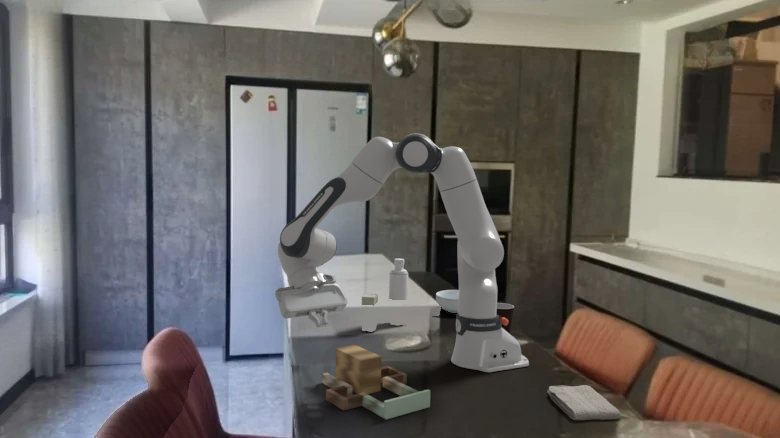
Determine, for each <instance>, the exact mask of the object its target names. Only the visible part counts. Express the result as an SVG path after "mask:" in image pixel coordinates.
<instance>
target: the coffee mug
mask: <svg viewBox="0 0 780 438" xmlns="http://www.w3.org/2000/svg"><path fill="white" fill-rule="evenodd" d="M514 310H515V306H514V305H513V304H510V303H503V302H497V313H496V314H497V315H498V316H500V317H504V318H506V319H508V320H509V322H508V325H503V324H501V326H502V328H503V329H504V330H506V331H507V332H508V333H509V334H510V335H511V329H512V323H513V317H514V312H515V311H514Z"/></svg>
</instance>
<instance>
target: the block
mask: <svg viewBox="0 0 780 438" xmlns="http://www.w3.org/2000/svg"><path fill="white" fill-rule="evenodd" d="M381 367H382V355H379V354H377V353H374V352H373V351H370V350H368V349H366V348H364V347H362V346H359V345H356V344H352V345H346V346H342V347H341V346H340V347H336V348H335V377H336V378H338V379H340V380H342V381H344V382H346V383H348V384H349V385H351V386H352V393H355V394H359V393H366V394H368V395H370V394H374V393H378V392H381V391H382V383H381Z"/></svg>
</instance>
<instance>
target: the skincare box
mask: <svg viewBox="0 0 780 438" xmlns="http://www.w3.org/2000/svg"><path fill="white" fill-rule="evenodd" d="M378 297H379V296H378V293H365V294H363V295H362V296H361V306H362V305H373V306H374V305H375V304H376V303H377V302H378V299H379V298H378Z"/></svg>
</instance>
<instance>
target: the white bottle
mask: <svg viewBox="0 0 780 438" xmlns="http://www.w3.org/2000/svg"><path fill="white" fill-rule="evenodd" d="M393 265H394V268H393V269H391V271H389V282H388V283H389V286H388V289H389V290H388V291H389V292H388V300H389V299H392V300H407V299H408V300H409V271H407V269H405V268H404V265H405V259H404V258H398V257H397V258H394V260H393Z"/></svg>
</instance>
